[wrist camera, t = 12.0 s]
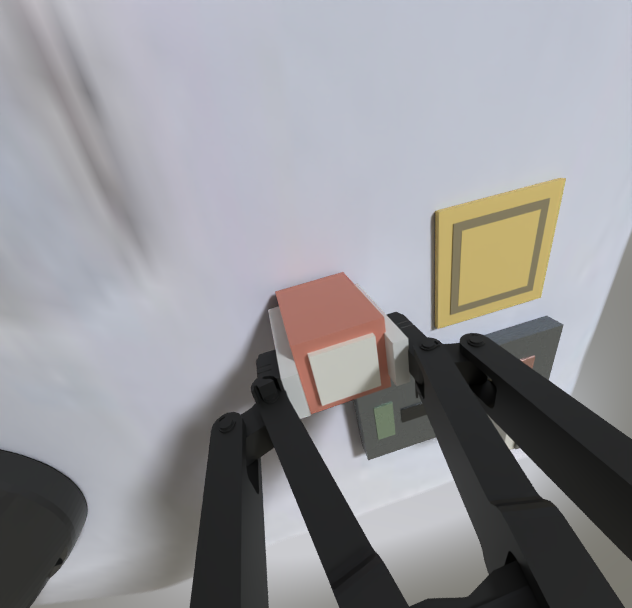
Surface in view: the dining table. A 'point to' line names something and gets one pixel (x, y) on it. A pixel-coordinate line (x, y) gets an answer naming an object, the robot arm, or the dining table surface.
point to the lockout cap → (334, 340)
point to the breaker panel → (407, 411)
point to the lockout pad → (494, 251)
